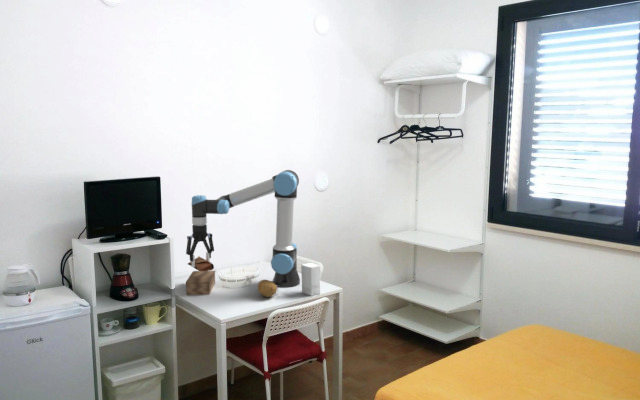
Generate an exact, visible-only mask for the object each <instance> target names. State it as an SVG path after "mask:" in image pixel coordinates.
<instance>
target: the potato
mask: <svg viewBox="0 0 640 400" xmlns="http://www.w3.org/2000/svg"><path fill="white" fill-rule="evenodd" d="M257 291H258V293H259V294H260V295H261V296H263V297H267V298H270V297H273V296H274V295H276V293H277V291H278V286H276V285H275V283H274V282H273V280H268V279H261V280H260V281H259V282H258V284H257Z"/></svg>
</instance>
